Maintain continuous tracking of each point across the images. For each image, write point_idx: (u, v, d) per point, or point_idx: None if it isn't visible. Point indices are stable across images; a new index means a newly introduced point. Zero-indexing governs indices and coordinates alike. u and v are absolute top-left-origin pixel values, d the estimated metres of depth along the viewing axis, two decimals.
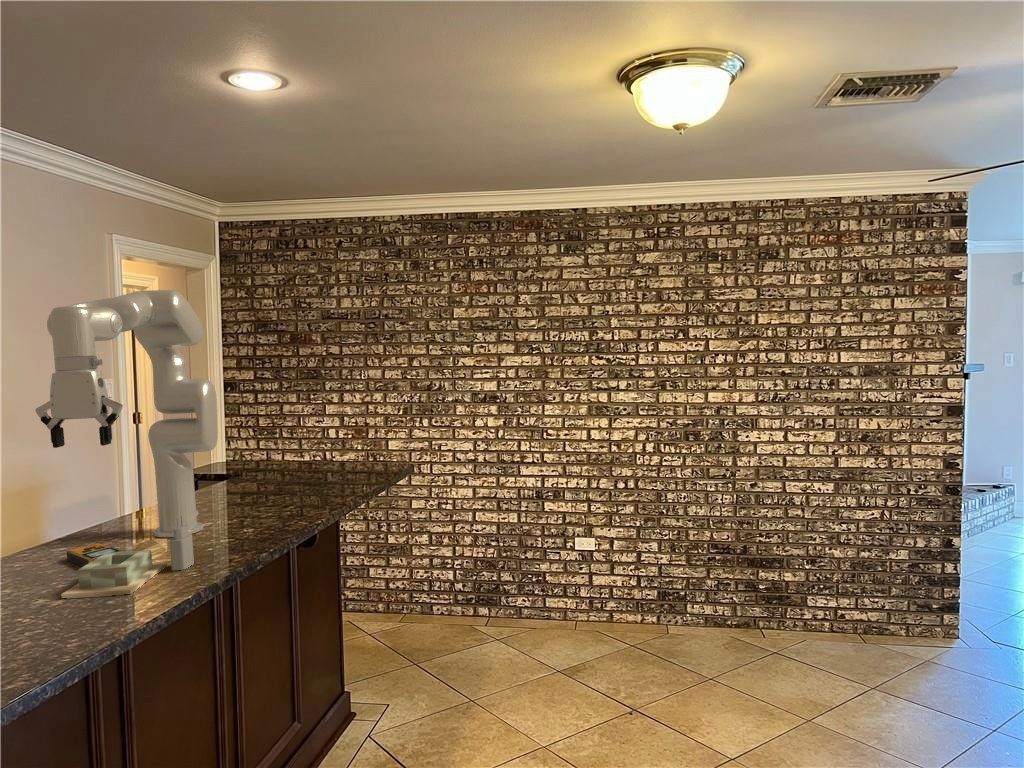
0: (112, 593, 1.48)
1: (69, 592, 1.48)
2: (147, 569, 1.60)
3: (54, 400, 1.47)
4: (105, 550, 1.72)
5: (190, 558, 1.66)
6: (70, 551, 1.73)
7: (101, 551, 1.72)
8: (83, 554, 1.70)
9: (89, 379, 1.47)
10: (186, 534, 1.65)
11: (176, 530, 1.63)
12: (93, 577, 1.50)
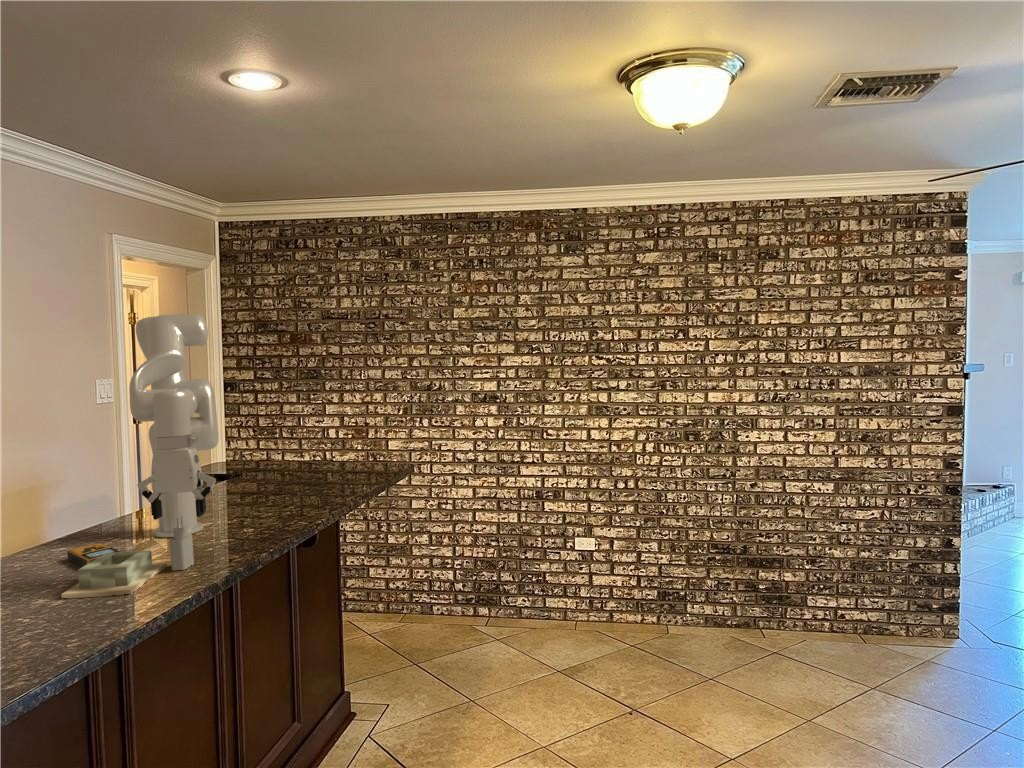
0: (112, 593, 1.48)
1: (69, 592, 1.48)
2: (147, 569, 1.60)
3: (155, 476, 1.61)
4: (104, 550, 1.72)
5: (190, 558, 1.66)
6: (71, 551, 1.74)
7: (100, 551, 1.72)
8: (82, 554, 1.70)
9: (187, 456, 1.61)
10: (186, 534, 1.65)
11: (176, 530, 1.63)
12: (93, 577, 1.50)
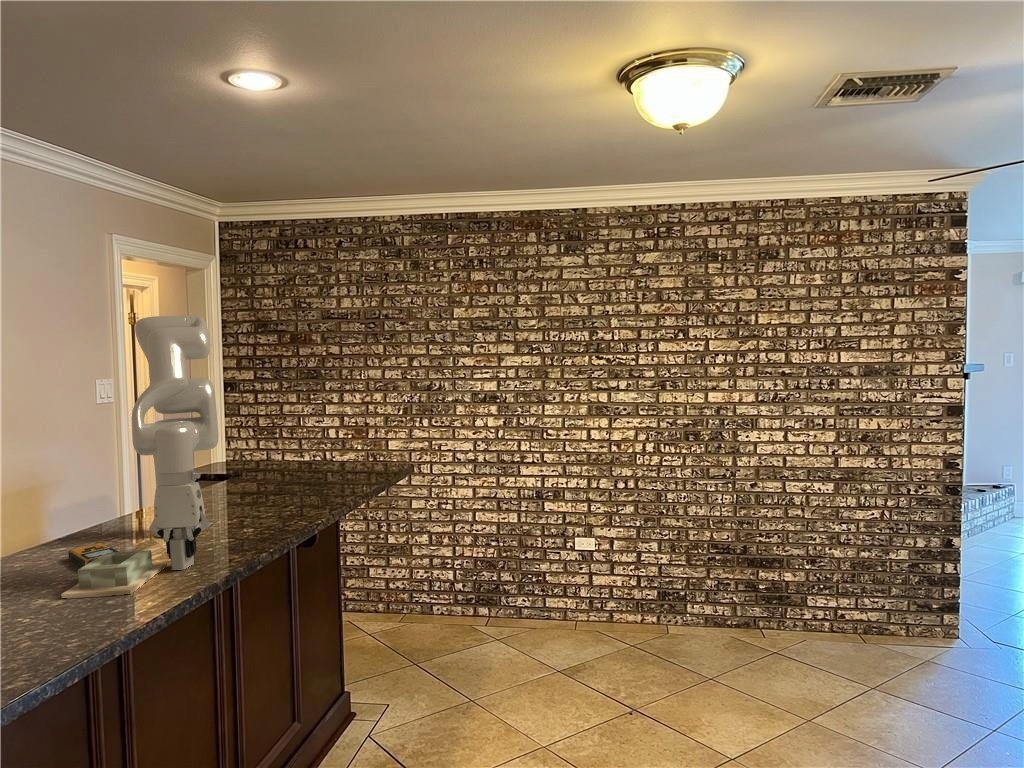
0: (112, 593, 1.48)
1: (69, 592, 1.48)
2: (147, 569, 1.60)
3: (158, 512, 1.62)
4: (104, 551, 1.72)
5: (190, 558, 1.66)
6: (71, 550, 1.74)
7: (99, 552, 1.71)
8: (81, 554, 1.70)
9: (189, 492, 1.62)
10: (186, 534, 1.65)
11: (176, 530, 1.63)
12: (93, 577, 1.50)
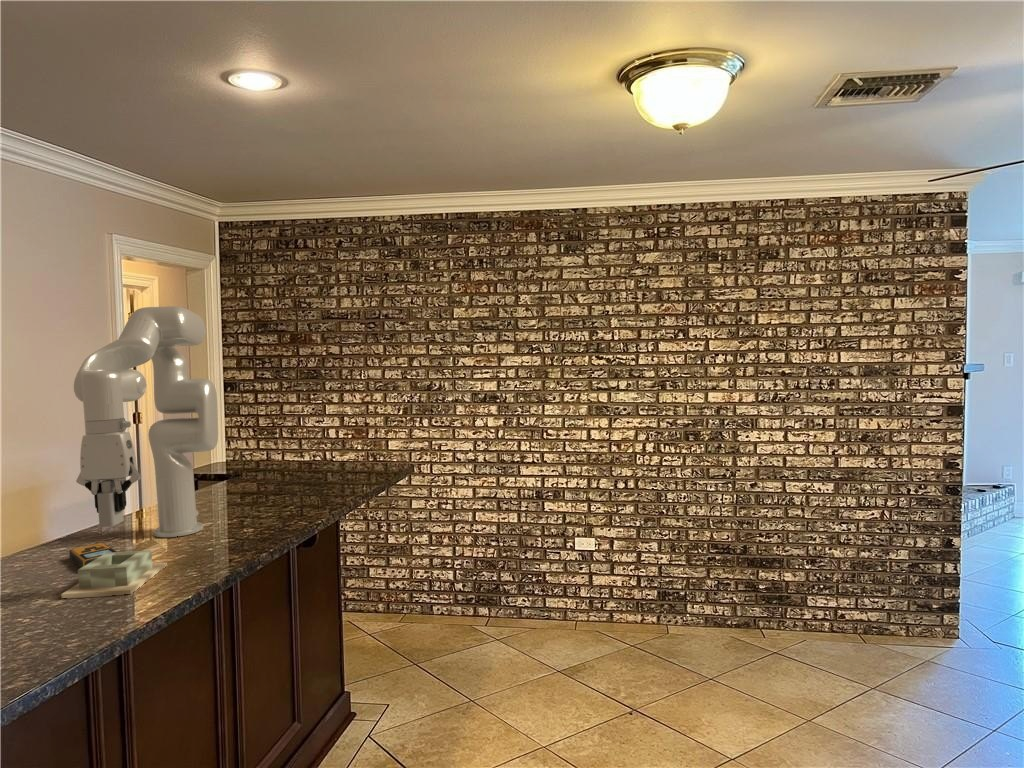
0: (112, 593, 1.48)
1: (69, 592, 1.48)
2: (147, 569, 1.60)
3: (84, 462, 1.52)
4: (103, 551, 1.72)
5: (120, 514, 1.56)
6: (72, 550, 1.74)
7: (98, 552, 1.71)
8: (81, 554, 1.70)
9: (118, 442, 1.52)
10: (115, 488, 1.56)
11: (105, 483, 1.53)
12: (93, 577, 1.50)
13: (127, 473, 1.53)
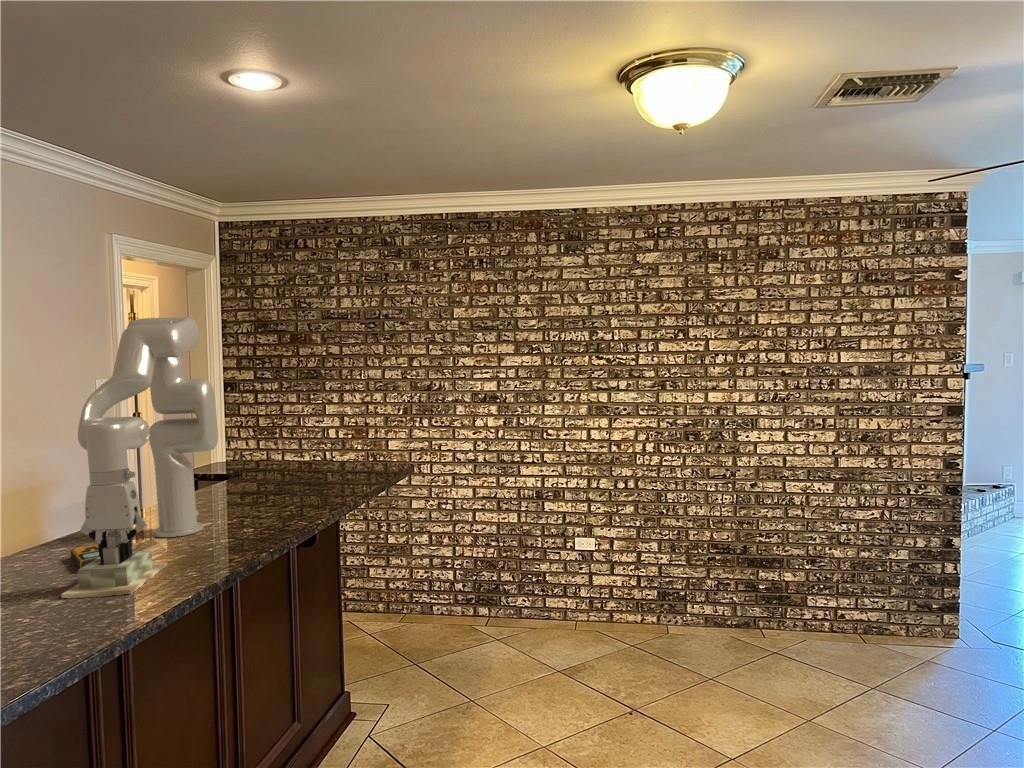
0: (112, 593, 1.48)
1: (69, 592, 1.48)
2: (147, 569, 1.60)
3: (89, 513, 1.53)
4: None
5: None
6: (73, 550, 1.75)
7: (97, 552, 1.71)
8: (80, 554, 1.70)
9: (123, 492, 1.53)
10: (120, 542, 1.57)
11: (110, 538, 1.54)
12: (93, 577, 1.50)
13: (132, 523, 1.54)
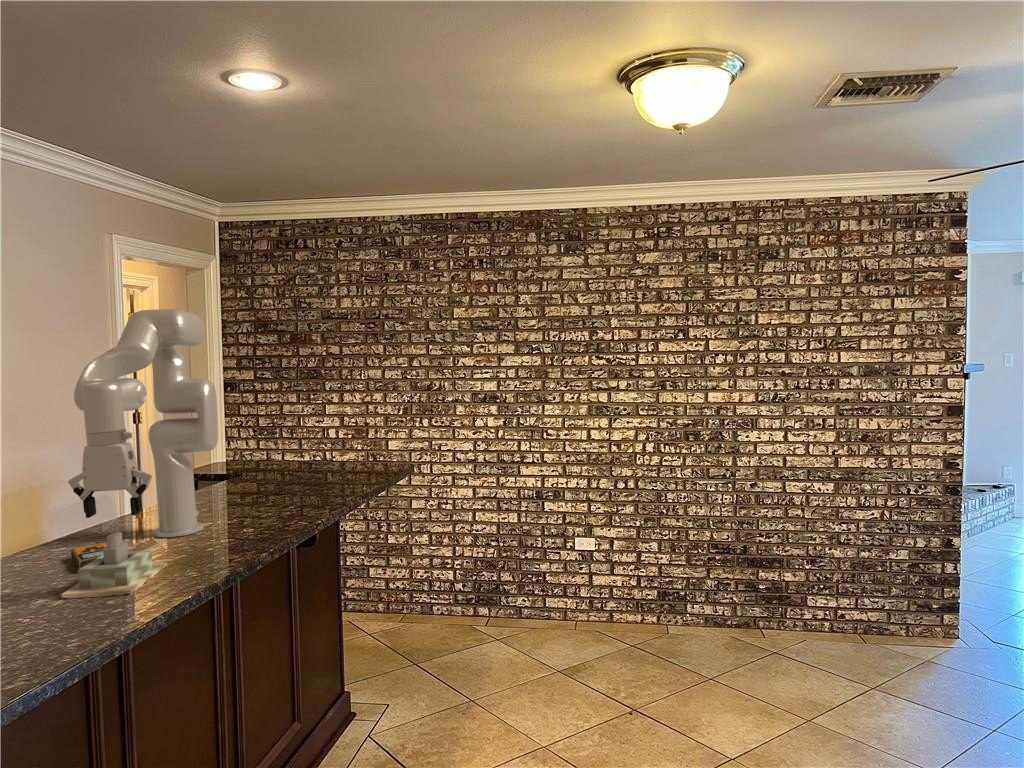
0: (112, 593, 1.48)
1: (69, 592, 1.48)
2: (147, 569, 1.60)
3: (86, 473, 1.53)
4: (101, 551, 1.71)
5: None
6: (73, 549, 1.75)
7: (97, 552, 1.71)
8: (79, 554, 1.70)
9: (120, 453, 1.53)
10: (121, 542, 1.57)
11: (110, 538, 1.54)
12: (93, 577, 1.50)
13: (129, 484, 1.54)
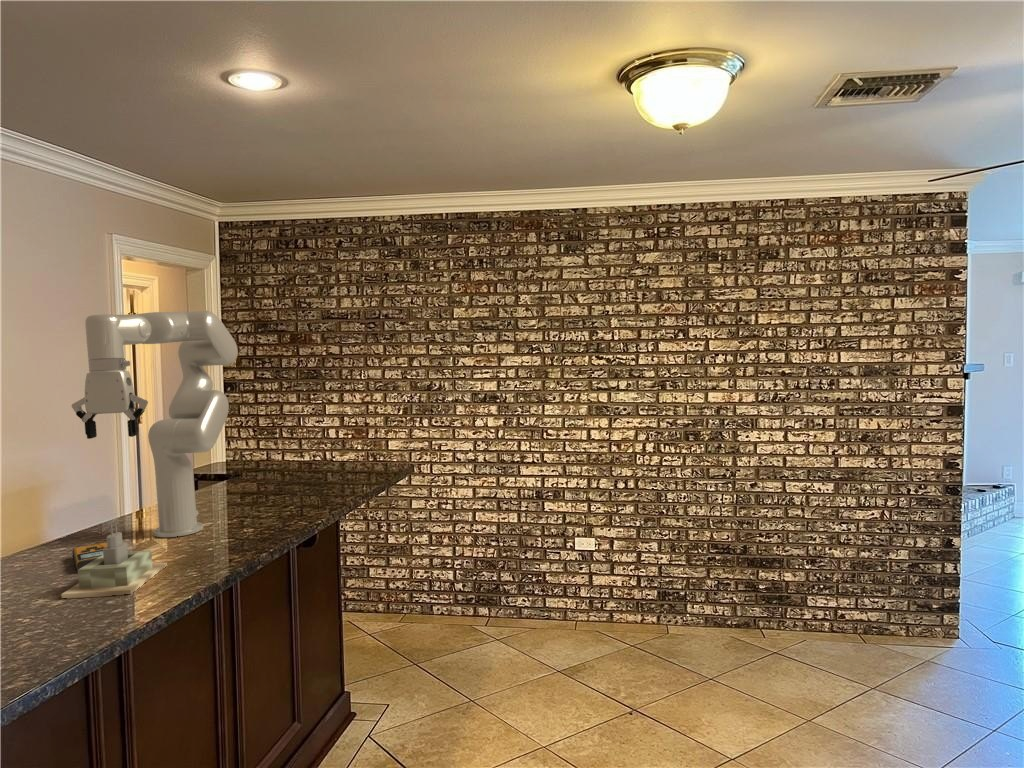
0: (112, 593, 1.48)
1: (69, 592, 1.48)
2: (147, 569, 1.60)
3: (88, 397, 1.68)
4: (100, 552, 1.71)
5: None
6: (74, 549, 1.75)
7: (95, 553, 1.71)
8: (78, 554, 1.70)
9: (119, 378, 1.68)
10: (121, 542, 1.57)
11: (110, 538, 1.54)
12: (93, 577, 1.50)
13: (127, 407, 1.69)
